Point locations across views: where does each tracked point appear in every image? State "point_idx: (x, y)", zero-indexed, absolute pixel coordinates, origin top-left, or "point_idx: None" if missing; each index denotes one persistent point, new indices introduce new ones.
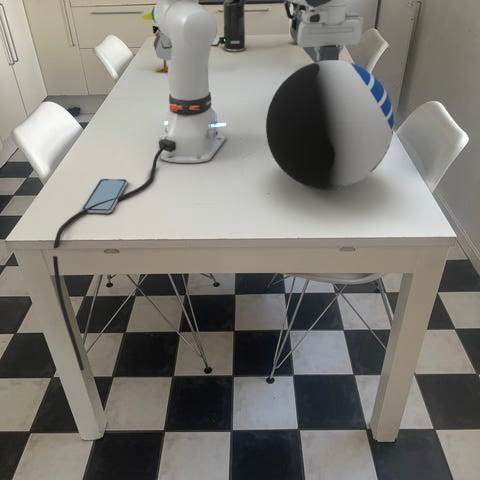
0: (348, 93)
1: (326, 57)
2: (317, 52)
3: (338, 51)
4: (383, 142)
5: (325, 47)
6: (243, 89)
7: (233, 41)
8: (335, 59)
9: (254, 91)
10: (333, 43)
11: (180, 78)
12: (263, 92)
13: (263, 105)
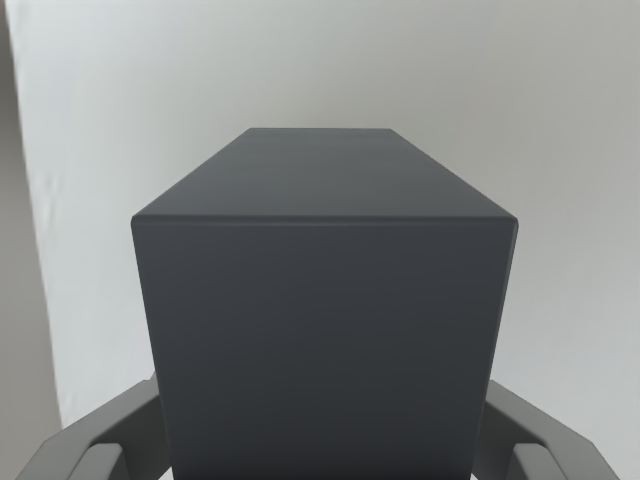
0: None
1: (444, 167)
2: (525, 408)
3: (170, 197)
4: None
5: (463, 408)
6: (634, 459)
7: None
8: (260, 158)
9: (596, 431)
10: None
11: None
12: (561, 415)
13: (636, 257)
